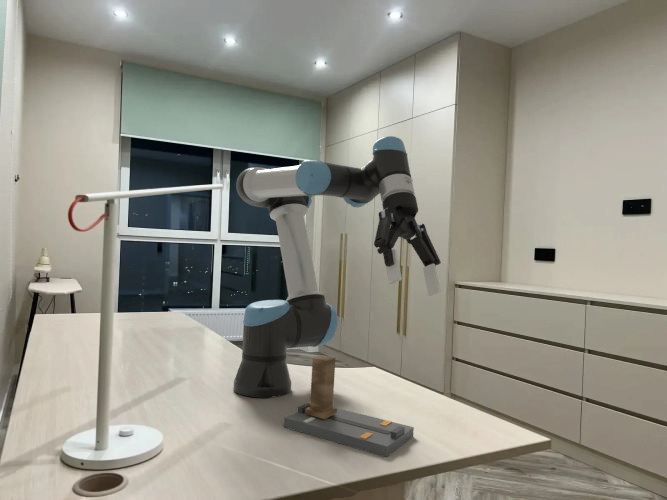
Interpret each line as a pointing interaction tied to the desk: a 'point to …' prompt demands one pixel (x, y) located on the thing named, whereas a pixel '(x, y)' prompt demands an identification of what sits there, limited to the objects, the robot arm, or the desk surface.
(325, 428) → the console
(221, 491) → the desk surface
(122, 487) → the desk surface
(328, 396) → the fader
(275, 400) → the desk surface
